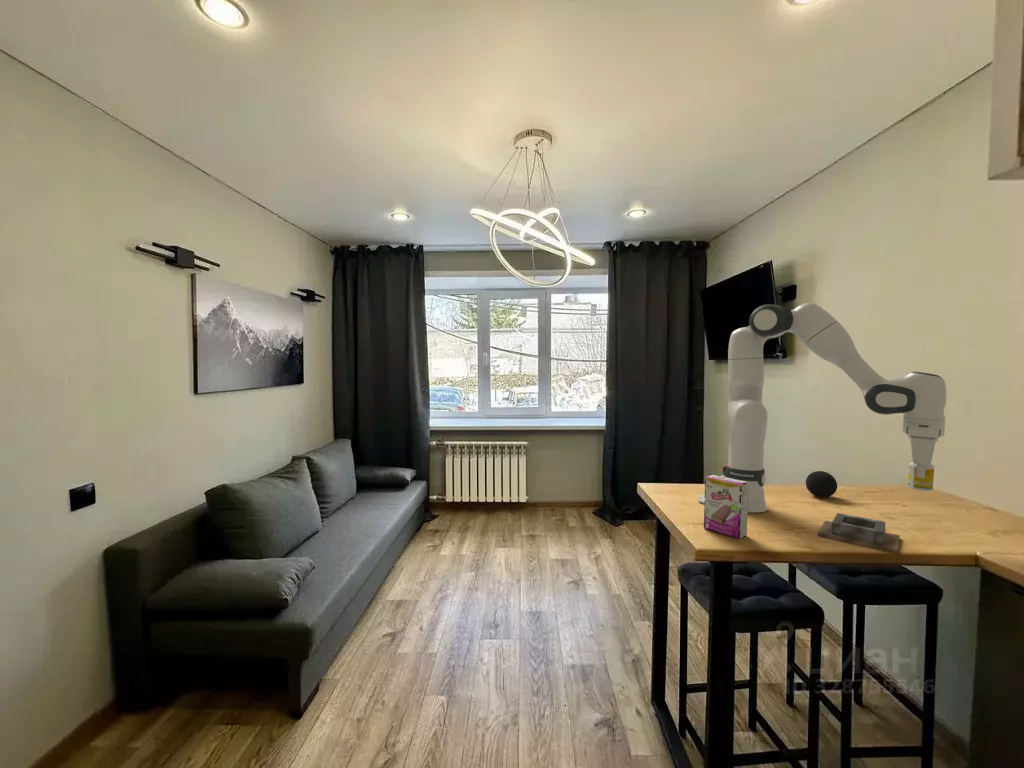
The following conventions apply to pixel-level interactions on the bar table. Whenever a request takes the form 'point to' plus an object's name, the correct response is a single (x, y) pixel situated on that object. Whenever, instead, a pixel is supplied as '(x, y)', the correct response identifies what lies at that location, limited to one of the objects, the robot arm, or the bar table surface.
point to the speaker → (821, 484)
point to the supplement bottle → (921, 483)
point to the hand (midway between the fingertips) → (920, 475)
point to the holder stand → (860, 532)
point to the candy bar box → (726, 506)
